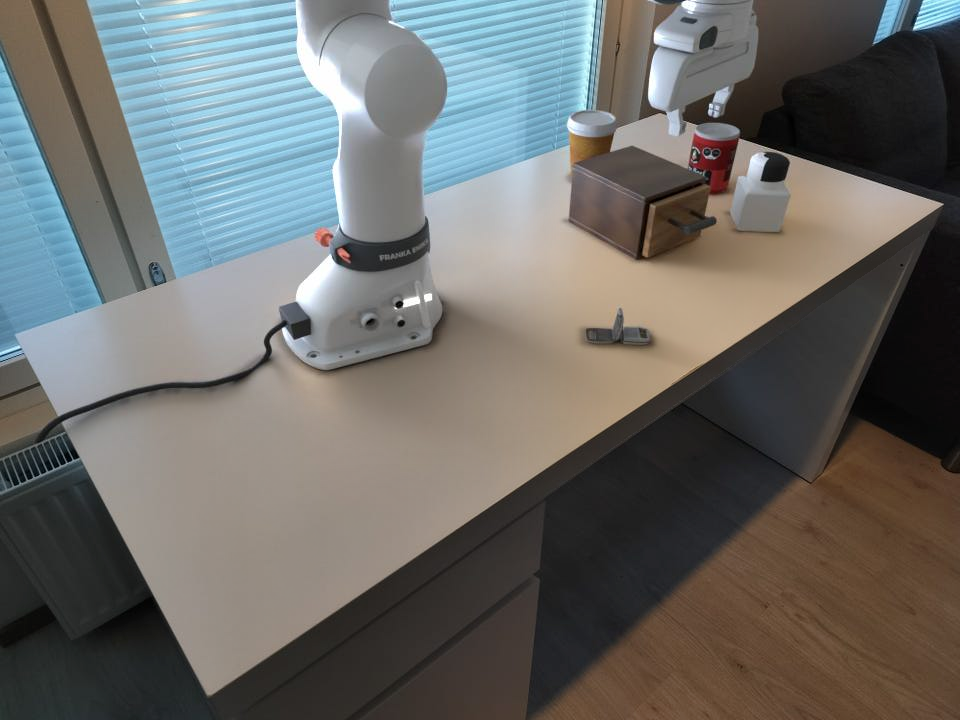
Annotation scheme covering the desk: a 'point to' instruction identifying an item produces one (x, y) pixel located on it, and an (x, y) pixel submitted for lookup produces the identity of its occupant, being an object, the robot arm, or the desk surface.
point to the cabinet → (623, 194)
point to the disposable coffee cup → (590, 134)
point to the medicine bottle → (762, 194)
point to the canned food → (714, 153)
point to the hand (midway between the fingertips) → (696, 124)
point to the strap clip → (619, 333)
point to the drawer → (676, 219)
